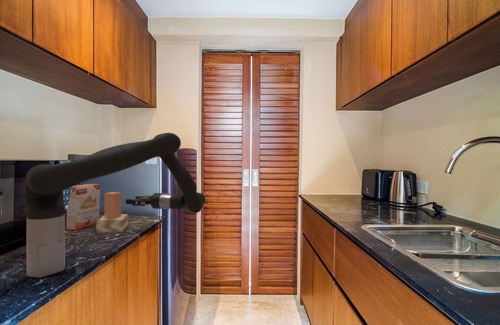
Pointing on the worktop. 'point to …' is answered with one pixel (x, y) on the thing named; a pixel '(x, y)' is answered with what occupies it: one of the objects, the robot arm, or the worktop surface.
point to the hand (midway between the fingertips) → (131, 199)
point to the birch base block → (112, 224)
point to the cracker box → (83, 206)
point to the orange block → (112, 205)
